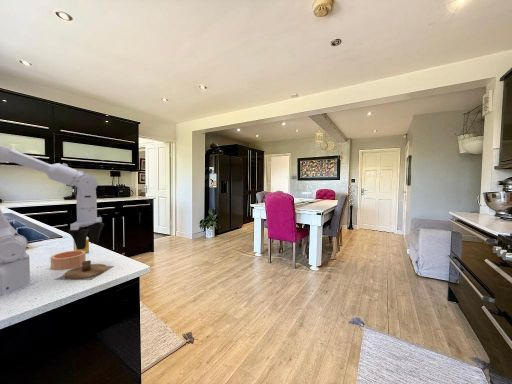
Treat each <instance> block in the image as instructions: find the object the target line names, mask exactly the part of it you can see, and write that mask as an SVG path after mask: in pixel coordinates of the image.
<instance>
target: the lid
mask: <svg viewBox="0 0 512 384" xmlns="http://www.w3.org/2000/svg"><path fill="white" fill-rule="evenodd" d="M107 266H108V265H106V264H103V263H102V264H101V263H92V262H91V260H86V261H84V262H82V265H81V266H79V267H75V268H72V269H68V270H67V271H66V272H64V274H63V275H64V277H65V278H66V279H70V280H69V281H78V280H77V279H85V278H90V277H94V276H97V275H99V274H101V275H102V274H104V273H106V272H107V271H108V270H107ZM106 270H107V271H106ZM105 271H106V272H105ZM99 276H100V275H99ZM97 277H98V276H97Z"/></svg>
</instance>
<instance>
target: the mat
mask: <svg viewBox="0 0 512 384" xmlns="http://www.w3.org/2000/svg"><path fill="white" fill-rule="evenodd" d="M106 266H107V270H106V271H105V272H104V273H106V272H107V271H109V270H111V269H112V268H114V267H115V266H114V265H106ZM100 275H102V274H99V275H97V276H94V277H90V278H85V279H77V280H76V281H92V280H94V279H96V278H97V277H99V276H100ZM54 280H55V281H59V280H60V281H71V280H70V279H66V278H65V277H64V274H63V275H61V276H59V277H56V278H55V279H54Z"/></svg>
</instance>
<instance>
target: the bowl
mask: <svg viewBox="0 0 512 384" xmlns="http://www.w3.org/2000/svg"><path fill="white" fill-rule="evenodd" d="M86 255H87V254H86V252H85V251H78V250H75V251H74V250H68V251H67V250H66V251H63V252H58V253H55V254H53V255H51V256H50V269H51V270H53V271H63V270H71V269H73V268H76V267H80V266H82V262H84V261H87V259H86V257H87V256H86Z"/></svg>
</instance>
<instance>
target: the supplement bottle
mask: <svg viewBox="0 0 512 384" xmlns="http://www.w3.org/2000/svg"><path fill="white" fill-rule="evenodd" d="M75 250H78V251H85V252H86V255H87V254H89V253H90V237H88V236H87V238H86V247H85V249H77V247H76V244H75V241H74V240H73V251H75Z"/></svg>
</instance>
